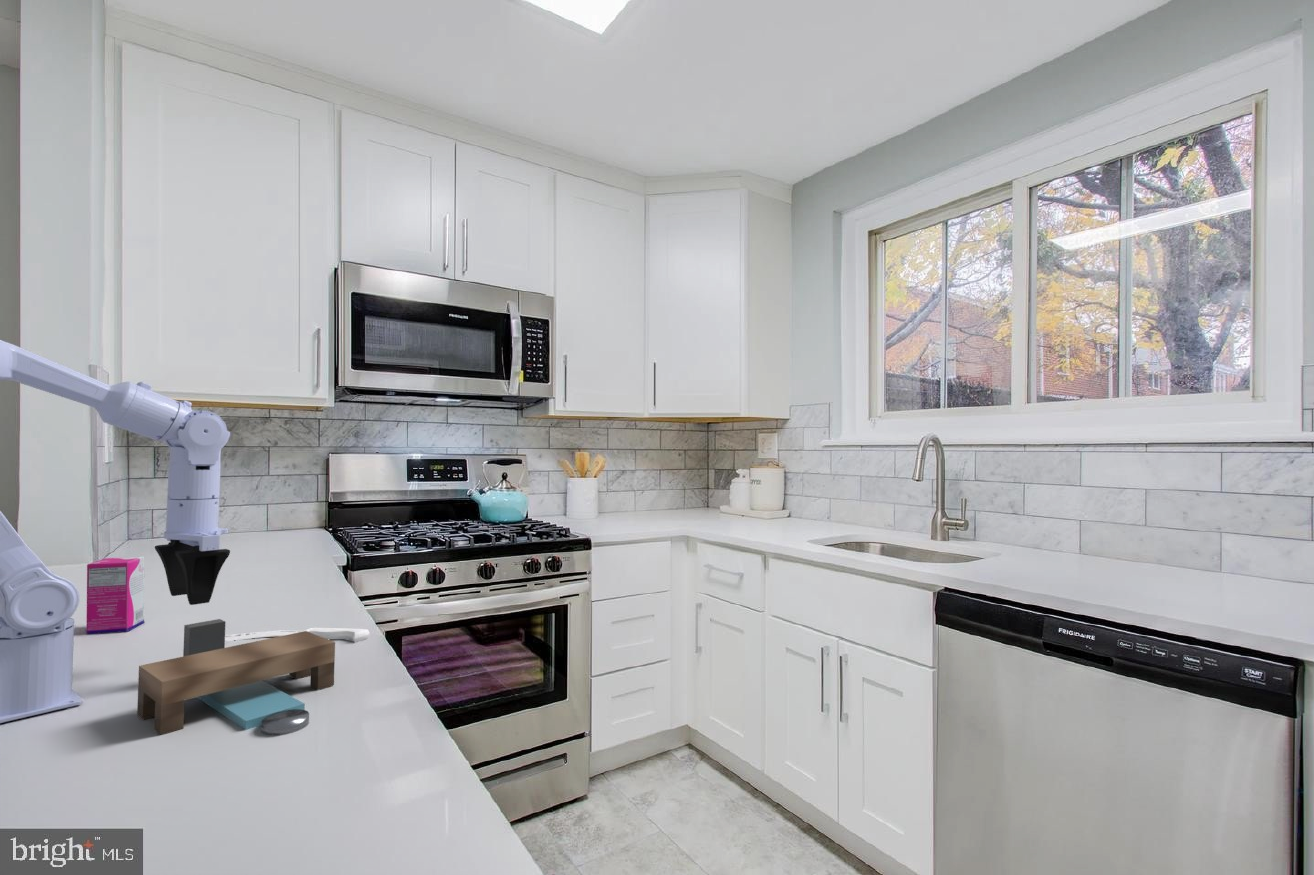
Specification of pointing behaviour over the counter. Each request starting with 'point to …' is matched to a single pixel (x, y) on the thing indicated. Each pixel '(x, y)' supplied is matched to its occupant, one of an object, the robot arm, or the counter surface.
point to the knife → (322, 632)
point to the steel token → (285, 722)
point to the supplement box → (115, 595)
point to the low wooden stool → (229, 673)
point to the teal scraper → (242, 701)
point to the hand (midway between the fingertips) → (189, 598)
